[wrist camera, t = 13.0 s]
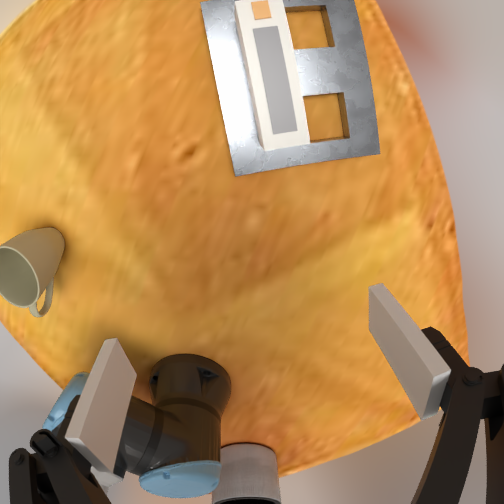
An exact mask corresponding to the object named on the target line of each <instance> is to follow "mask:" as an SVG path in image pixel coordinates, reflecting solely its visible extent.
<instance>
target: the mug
mask: <svg viewBox="0 0 504 504" xmlns="http://www.w3.org/2000/svg"><path fill="white" fill-rule="evenodd" d="M64 248H65V242H64V238H63V236H62V234H61V233H60V232H59V231H58V230H57V229H55V228H52V227H47V228H40V229H33V230H29V231H25V232H23V233H21V234H19V235H17V236H15V237H14V238H12V239H10V240H9V241H7V242H5V243H4V244H2V245H1V246H0V294H1V296H2V297H3V298H4V299H6V300H7V301H8V302H9V303H11V304H13V305H15V306H17V307H21V308H28V307H29V310H30V312H31V314H32V315H33V316H35V317H42V316H44V315H45V314H46V313H47V312H48V310H49V308H50V306H51V302H52V296H53V281H54V275H55V273H56V271H57V269H58V266H59V263H60V260H61V257H62V254H63V251H64ZM45 289H46V295H45V302H44V305H43V307H42V309H41V310H40V311H39V312H38V310H37V300H38V299H39V297H40V296H41V294H42V293H43V292H44V290H45Z"/></svg>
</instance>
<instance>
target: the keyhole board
mask: <svg viewBox="0 0 504 504" xmlns="http://www.w3.org/2000/svg"><path fill="white" fill-rule="evenodd" d="M235 1H239V0H209V1H204V2H200V4H201V9H202V14H203V19H204V24H205V29H206V34H207V39H208V44H209V48H210V53H211V58H212V63H213V68H214V73H215V78H216V83H217V88H218V93H219V98H220V103H221V108H222V113H223V118H224V123H225V128H226V133H227V138H228V143H229V148H230V153H231V157H232V162H233V167H234V172H235V176H241V175H246V174H251V173H256V172H262V171H267V170H273V169H279V168H285V167H291V166H297V165H303V164H310V163H316V162H323V161H330V160H337V159H344V158H352V157H360V156H368V155H377V154H380V147H379V137H378V128H377V119H376V111H375V104H374V97H373V90H372V84H371V78H370V72H369V66H368V61H367V56H366V51H365V46H364V41H363V36H362V31H361V27H360V23H359V18H358V14H357V10H356V6H355V2H354V0H283V4H284V8H285V12H298V11H318V10H321V14H322V18H323V22H324V26H325V31H326V35H327V40H328V45H329V47H325V48H310V49H298V50H294V54H295V59H296V64H297V69H298V74H299V79H300V85H301V90H302V96H311V95H320V94H331V93H338V99H339V106H340V112H341V119H342V126H343V134H344V137H336V138H328V139H321V140H313V141H310V144H305V145H298V146H292V147H286V148H279V149H274V150H268V151H264V150H263V148H262V147H261V146H260V143H259V137H258V132H257V127H256V121H255V116H254V111H253V106H252V101H251V95H250V90H249V85H248V80H247V75H246V70H245V65H244V60H243V55H242V51H241V46H240V41H239V36H238V31H237V27H236V22H235Z"/></svg>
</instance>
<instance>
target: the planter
mask: <svg viewBox="0 0 504 504" xmlns="http://www.w3.org/2000/svg"><path fill="white" fill-rule="evenodd" d="M221 465H222V466H221V470H220V479H219V484H218V486H217V487H216V489H215V490H213V491H212V504H281V498H280V488H279V478H278V468H277V459H276V455H275V453H274V452H273V451H272V450H270V449H269V448H267V447H264V446H261V445H257V444H249V443H242V444H233V445H229V446H226V447H224V448H222V449H221Z"/></svg>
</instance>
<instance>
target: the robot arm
mask: <svg viewBox="0 0 504 504" xmlns="http://www.w3.org/2000/svg"><path fill="white" fill-rule="evenodd" d="M369 330H370V332H371V334H372V335H373V337H374V339H375V340H376V342H377V344H378V345H379V347H380V349H381V350H382V352H383V354H384V356H385V357H386V359H387V361H388V362H389V364H390V366H391V367H392V369H393V371H394V373H395V374H396V376H397V378H398V380H399V381H400V383H401V385H402V387H403V388H404V390H405V392H406V394H407V395H408V397H409V399H410V401H411V403H412V404H413V406H414V408H415V410H416V412H417V414H418V415H419V417H420V419H421V421H422V420H424V419H427V418H429V417H431V416H434V415H436V414H437V413H438V410H439V407H441V408H442V410H443V411H444V414H443V416H442V419H441V422H440V424H439V426H440V427H439V430H438V433H437V437H436V440H435V443H434V446H433V449H432V452H431V454H430V457H429V461H428V463H427V465H426V468H425V471H424V473H423V476H422V478H421V481H420V483H419V486H418V489H417V491H416V493H415V495H414V497H413V500H412V502H411V504H458V502H459V499H460V497H461V493H462V490H463V487H464V484H465V481H466V477H467V474H468V471H469V467H470V463H471V459H472V455H473V451H474V447H475V443H476V438H477V433H478V429H479V424H480V419H484V421H485V434H486V454H487V492H486V493H487V494H486V504H504V364H503V366H502V368H501V370H499V371H494V372H488V373H483V372H482V371H481V370H479V369H478V368H474V367H469V366H468V365H467V364H466V363H465V362H464V360H463V359H462V358H461V357H460V355H459V354H458V353H457V352H456V350H455V349H454V348H453V347H452V346H451V344H450V343H449V342H448V341H447V340H446V338H445V337H444V336H443V335H442V333H441V332H440V331H438V330H436V329H434V328H433V327H428V328H425V329H422V330H420V329H419V327H418V326H417V325H416V323H415V322H414V321H413V320H412V318H411V317H410V316H409V315H408V314H407V312H406V311H405V310H404V309H403V307H402V306H401V305H400V304H399V303H398V301H397V300H396V299H395V298H394V296H393V295H392V294H391V293H390V292H389V291H388V289H387V288H386V287H385V286H384V285H383V283H381V284H377V285H373V286H370V287H369ZM136 377H137V374H136V372H135V371H134V369H133V367H132V365H131V363H130V362H129V360H128V358H127V356H126V354H125V352H124V350H123V348H122V347H121V345H120V343H119V341H118V339H117V338H113V339H106V340H105V341H104V343H103V345H102V347H101V349H100V352H99V354H98V356H97V358H96V361H95V363H94V365H93V368H92V370H91V372H90V374H89V373H87V372H79V373H77V374H76V375H74V377H73V378H72V379H71V380H70V382H69V383H68V385H67V386H66V387H65V389H64V390H63V392H62V394H61V395H60V397H59V398H58V400H57V401H56V403H55V405H54V406H53V408H52V410H51V412H50V414H49V415H48V417H47V419H46V420H45V422H44V424H43V427H42V428H43V429H41V430H38V431H37V432H36V433H34V435H33V436H32V438H31V440H30V447H31V448H32V449H33V450H34V451H35V452H36V453H34V454H30V453H29V452H28V451H27V450H26V449H24V448H18V449H16V450H15V451H14V452H13V453H12V454H11V456H10V458H9V490H10V504H111V502H110V501H109V499H108V497H107V492H108V489H109V487H110V486H112V485H114V484H116V483H119V482H121V481H123V478H124V475H125V472H126V471H128V472H130V473H133V474H136V475H139V476H140V477H139V482H140V486H141V487H142V488H143V489H144V490H146V491H147V492H149V493H152V494H155V495H158V496H163V497H170V498H191V497H198V496H202V495H205V494H208V493H210V492H212V491H213V490H215V489H216V487H217V486H218V484H219V479H220V470H221V466H222V465H221V443H220V439H221V425H220V423H221V416H222V414H223V412H224V409H225V407H226V405H227V403H228V400H229V398H230V394H231V382H230V378H229V376H228V374H227V372H226V371H225V370H224V369H223V368H222V367H221V366H220V365H218V364H217V363H215V362H214V361H212V360H210V359H207V358H204V357H201V356H197V355H190V354H179V355H173V356H169V357H166V358H164V359H162V360H160V361H159V362H158V363H157V364H156V365H155V366H154V367H153V369H152V372H151V376H150V380H149V388H150V393H151V399H152V404H153V405H151V404H149V403H147V402H145V401H142V400H140V399H138V398H136V397H134V396H132V391H133V388H134V384H135V380H136Z"/></svg>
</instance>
